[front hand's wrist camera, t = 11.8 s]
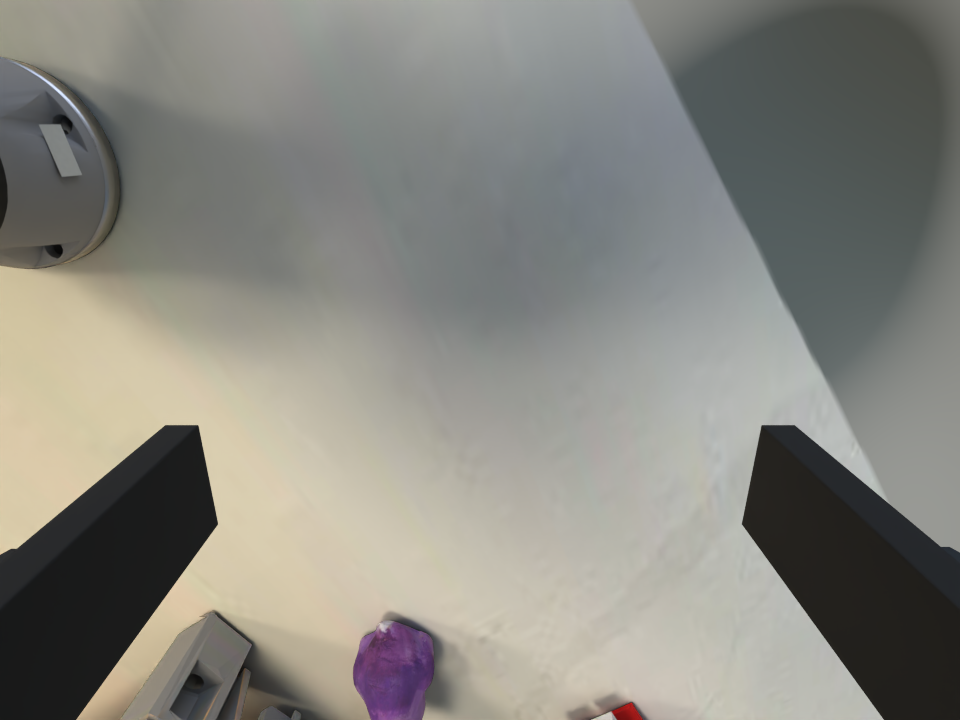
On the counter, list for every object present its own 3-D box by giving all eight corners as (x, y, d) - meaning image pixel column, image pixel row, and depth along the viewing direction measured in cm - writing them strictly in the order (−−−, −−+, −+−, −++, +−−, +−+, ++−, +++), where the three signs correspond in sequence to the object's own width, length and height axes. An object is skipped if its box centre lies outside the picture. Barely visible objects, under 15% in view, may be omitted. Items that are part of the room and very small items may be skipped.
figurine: (422, 697, 62) (405, 855, 47) (342, 661, 60) (300, 815, 46) (465, 644, 59) (461, 795, 45) (383, 605, 57) (351, 750, 43)
